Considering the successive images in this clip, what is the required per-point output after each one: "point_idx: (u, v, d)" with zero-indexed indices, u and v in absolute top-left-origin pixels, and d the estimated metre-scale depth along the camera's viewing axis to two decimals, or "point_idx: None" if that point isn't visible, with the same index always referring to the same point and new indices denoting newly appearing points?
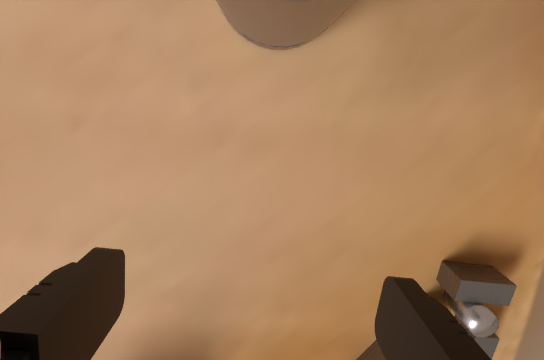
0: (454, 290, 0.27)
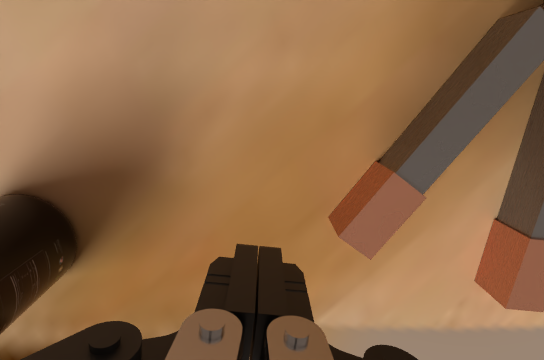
0: None
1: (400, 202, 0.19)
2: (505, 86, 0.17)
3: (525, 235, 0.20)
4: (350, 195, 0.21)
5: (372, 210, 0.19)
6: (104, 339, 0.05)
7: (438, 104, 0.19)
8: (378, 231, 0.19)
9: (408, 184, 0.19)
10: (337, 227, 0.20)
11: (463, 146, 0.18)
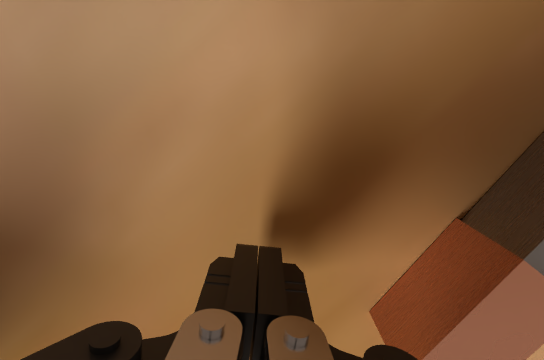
0: None
1: (530, 316, 0.09)
2: None
3: None
4: (412, 279, 0.12)
5: (472, 332, 0.09)
6: (104, 340, 0.05)
7: None
8: None
9: None
10: None
11: None
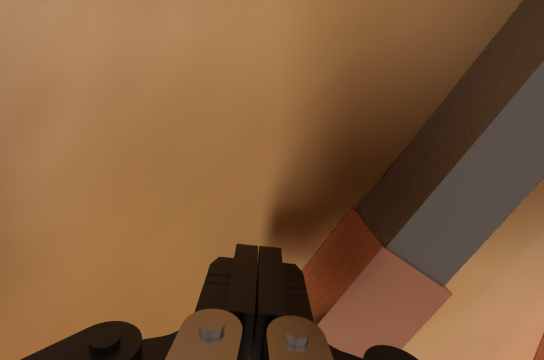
0: None
1: (399, 304, 0.09)
2: None
3: None
4: (309, 271, 0.12)
5: (342, 322, 0.09)
6: (105, 340, 0.05)
7: (468, 101, 0.10)
8: None
9: (414, 269, 0.09)
10: None
11: (528, 188, 0.09)
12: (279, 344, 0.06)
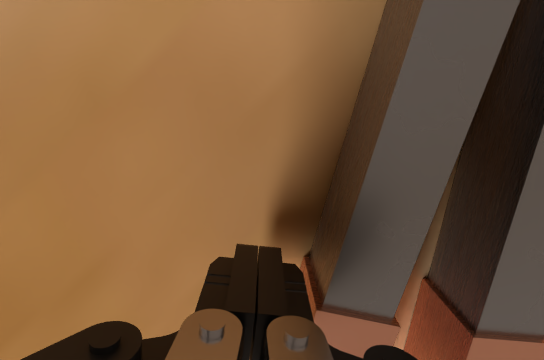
0: None
1: (355, 351, 0.10)
2: (464, 70, 0.08)
3: (466, 326, 0.10)
4: None
5: None
6: (104, 339, 0.05)
7: (356, 142, 0.10)
8: None
9: (355, 317, 0.09)
10: None
11: (430, 214, 0.09)
12: (279, 344, 0.06)
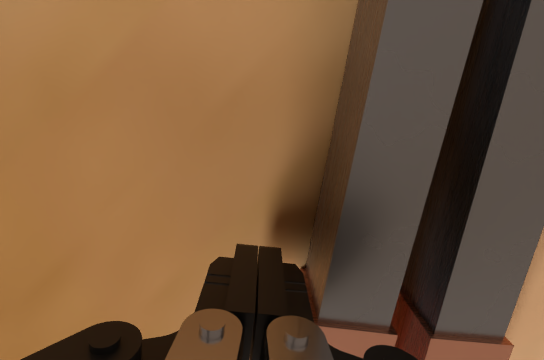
0: None
1: None
2: (434, 78, 0.08)
3: (426, 327, 0.10)
4: None
5: None
6: (104, 339, 0.05)
7: (337, 154, 0.10)
8: None
9: (351, 329, 0.09)
10: None
11: (415, 222, 0.09)
12: (279, 344, 0.06)
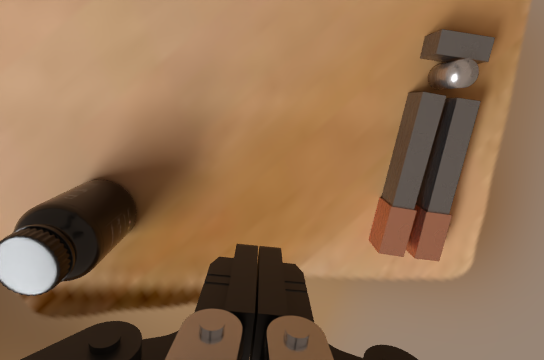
0: (436, 45, 0.28)
1: (403, 219, 0.31)
2: (427, 135, 0.30)
3: (425, 210, 0.32)
4: (375, 223, 0.34)
5: (390, 231, 0.32)
6: (104, 339, 0.05)
7: (398, 155, 0.32)
8: (399, 240, 0.32)
9: (402, 208, 0.31)
10: (376, 246, 0.33)
11: (422, 175, 0.31)
12: (279, 344, 0.06)
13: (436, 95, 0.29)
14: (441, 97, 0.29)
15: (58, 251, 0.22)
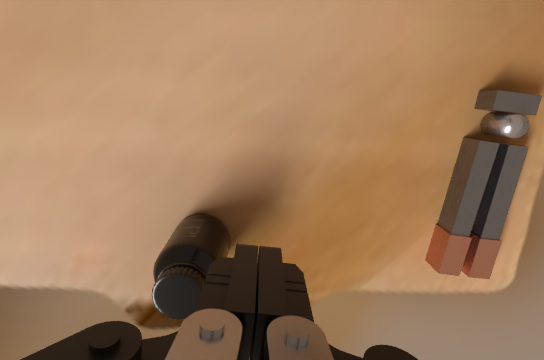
0: (492, 102, 0.34)
1: (460, 245, 0.37)
2: (483, 176, 0.35)
3: (478, 237, 0.37)
4: (432, 246, 0.40)
5: (448, 255, 0.37)
6: (104, 339, 0.05)
7: (454, 190, 0.37)
8: (456, 262, 0.38)
9: (459, 236, 0.37)
10: (434, 267, 0.39)
11: (477, 208, 0.36)
12: (279, 344, 0.06)
13: (491, 143, 0.34)
14: (495, 145, 0.34)
15: (203, 284, 0.28)
